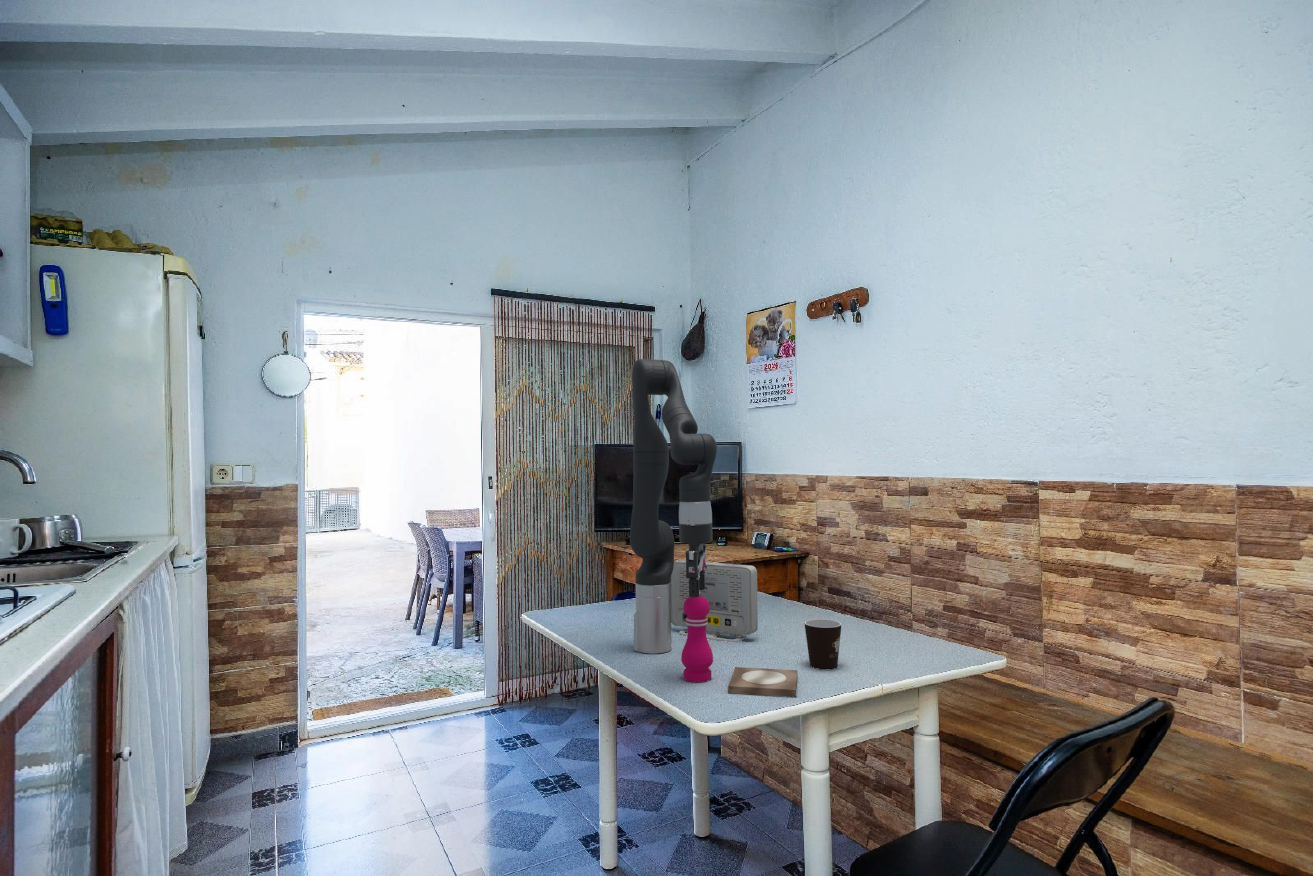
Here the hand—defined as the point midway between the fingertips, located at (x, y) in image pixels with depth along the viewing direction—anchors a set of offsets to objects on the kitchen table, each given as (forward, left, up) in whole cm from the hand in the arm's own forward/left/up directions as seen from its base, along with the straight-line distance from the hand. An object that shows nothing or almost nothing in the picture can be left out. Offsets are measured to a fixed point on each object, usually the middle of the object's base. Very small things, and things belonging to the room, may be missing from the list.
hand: (697, 593), depth 162 cm
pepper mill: (0, 0, -19) cm, 19 cm away
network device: (-2, +39, -19) cm, 43 cm away
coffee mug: (+29, +16, -19) cm, 38 cm away
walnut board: (+15, -2, -19) cm, 24 cm away
